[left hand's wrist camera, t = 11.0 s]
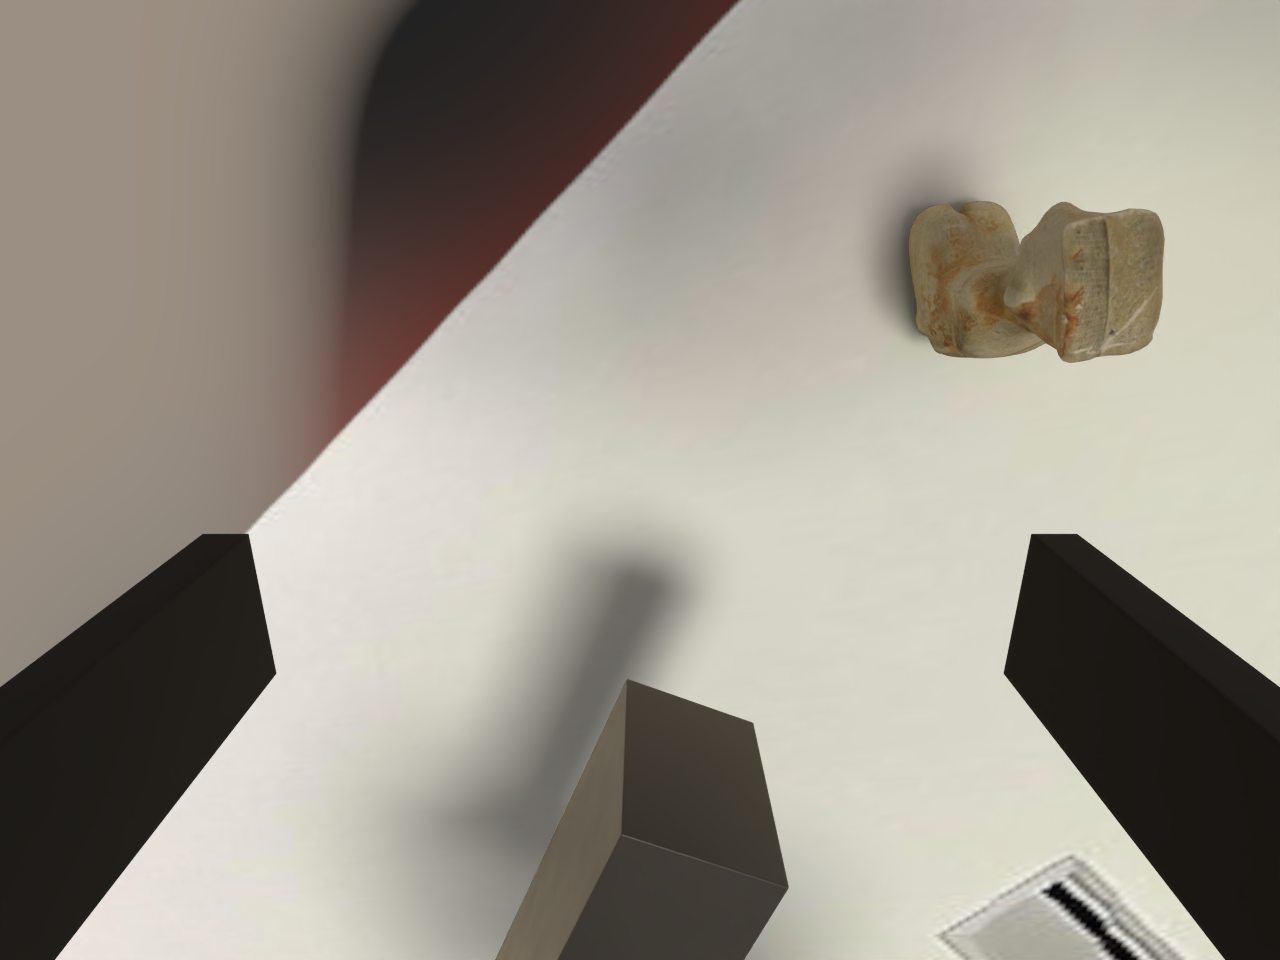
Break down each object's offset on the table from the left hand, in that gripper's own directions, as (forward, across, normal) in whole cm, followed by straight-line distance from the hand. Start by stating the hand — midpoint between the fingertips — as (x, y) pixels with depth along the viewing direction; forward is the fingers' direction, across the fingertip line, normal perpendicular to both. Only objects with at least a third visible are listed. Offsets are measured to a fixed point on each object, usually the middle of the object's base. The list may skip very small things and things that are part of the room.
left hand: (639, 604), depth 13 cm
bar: (+16, -2, -25) cm, 30 cm away
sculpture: (+30, +16, +3) cm, 34 cm away
